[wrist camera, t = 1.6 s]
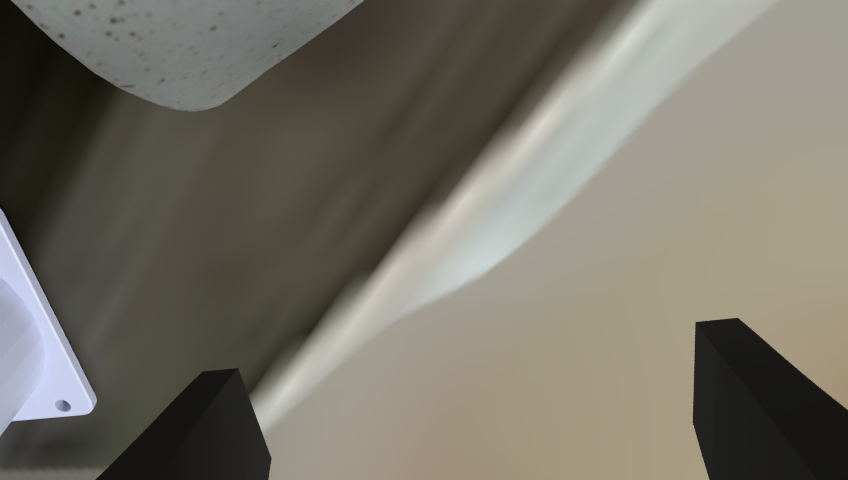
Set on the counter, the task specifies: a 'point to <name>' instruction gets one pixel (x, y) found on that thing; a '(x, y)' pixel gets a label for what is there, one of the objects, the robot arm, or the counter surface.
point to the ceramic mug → (183, 41)
